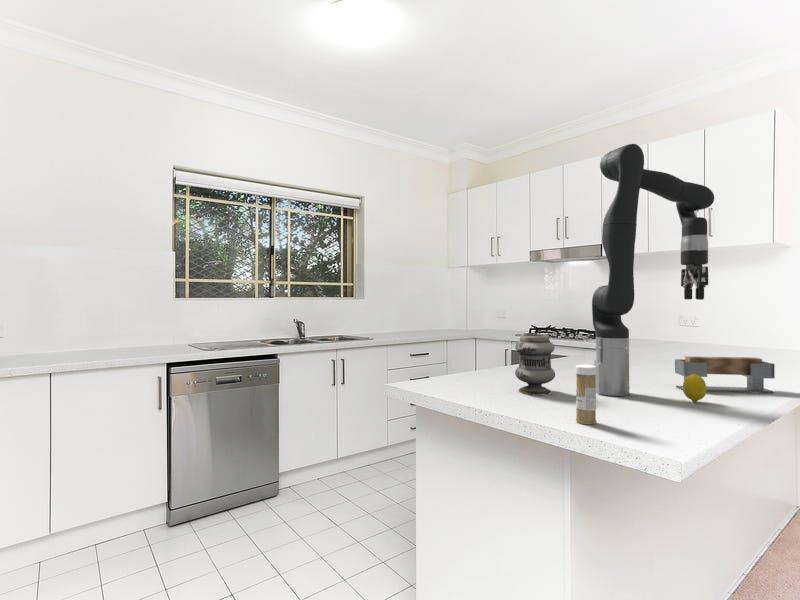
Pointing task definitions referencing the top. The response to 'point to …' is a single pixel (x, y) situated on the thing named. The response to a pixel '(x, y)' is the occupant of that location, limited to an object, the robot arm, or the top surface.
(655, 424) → the top surface
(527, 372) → the apothecary jar
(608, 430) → the top surface
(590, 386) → the sprinkles bottle
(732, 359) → the rail
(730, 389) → the bracket stand
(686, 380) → the lemon
